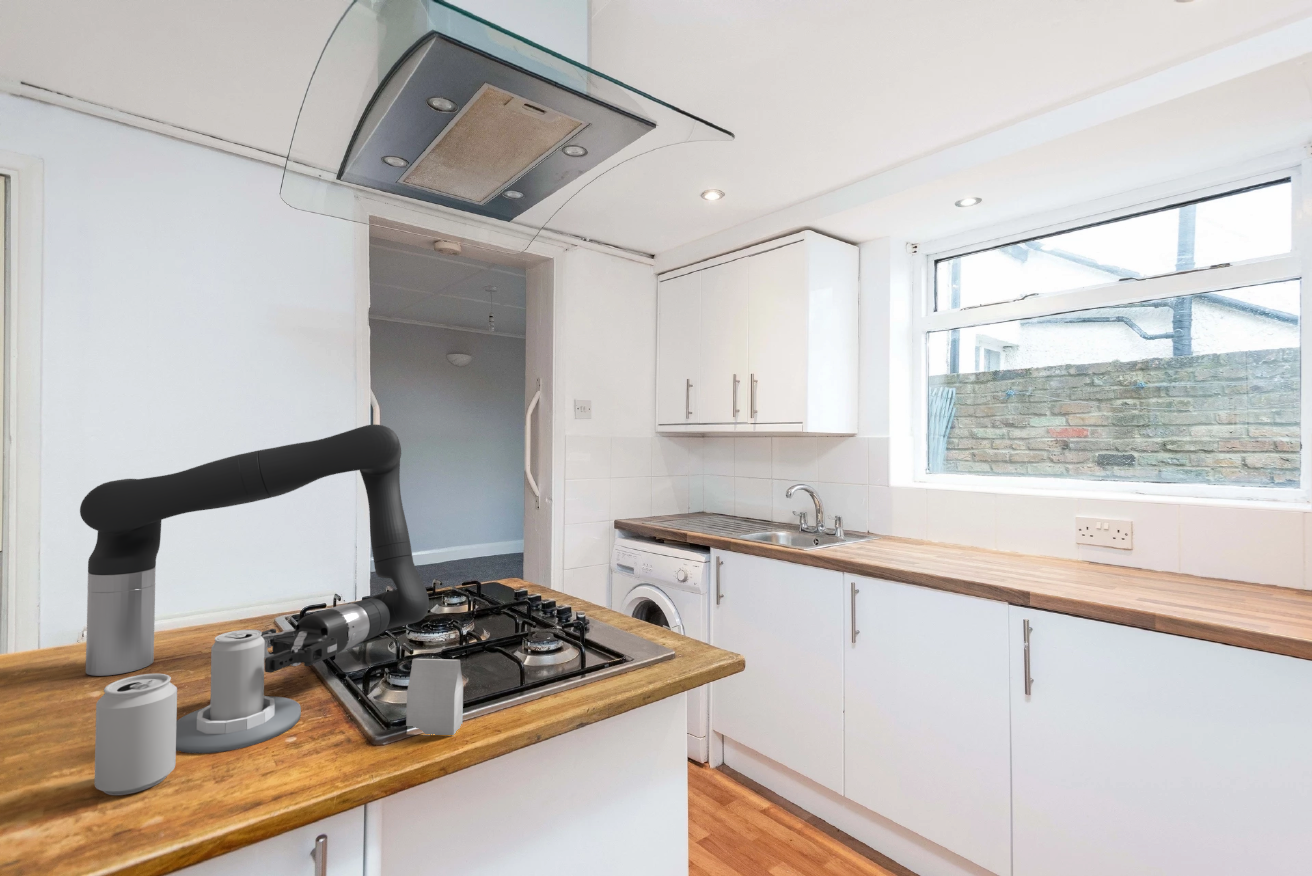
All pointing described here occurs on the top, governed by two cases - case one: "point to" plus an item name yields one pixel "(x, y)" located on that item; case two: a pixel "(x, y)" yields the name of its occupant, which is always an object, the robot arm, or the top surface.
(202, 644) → the top surface
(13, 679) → the top surface
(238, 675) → the beverage can
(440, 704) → the grey printed carton
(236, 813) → the top surface
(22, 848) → the top surface
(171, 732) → the can
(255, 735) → the dock
